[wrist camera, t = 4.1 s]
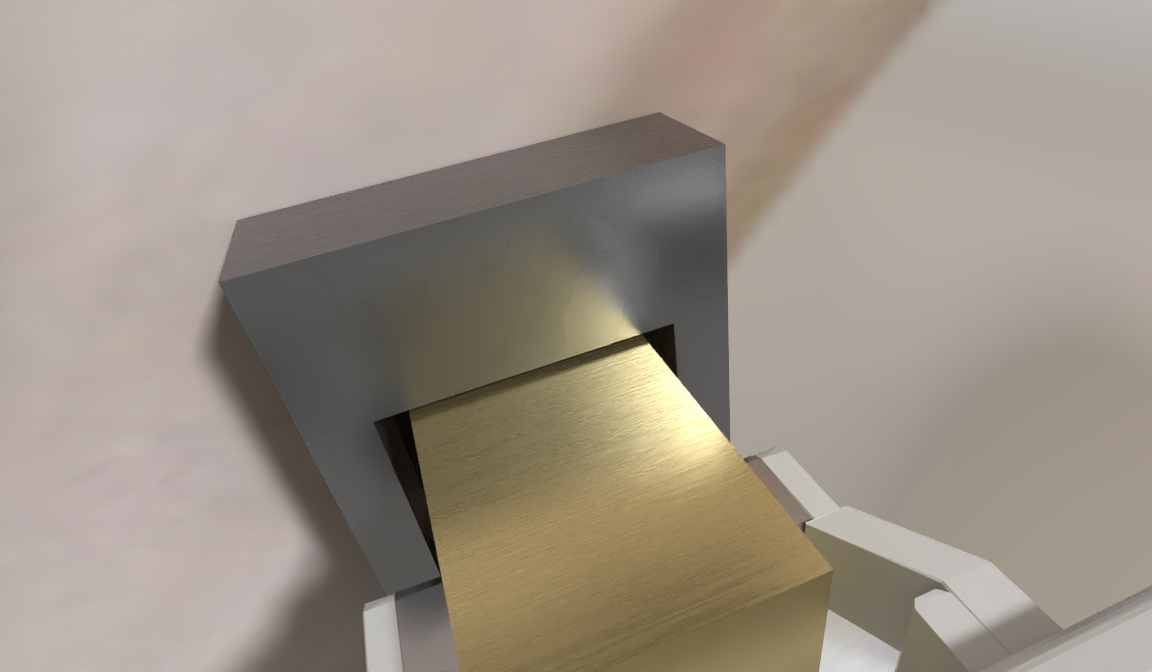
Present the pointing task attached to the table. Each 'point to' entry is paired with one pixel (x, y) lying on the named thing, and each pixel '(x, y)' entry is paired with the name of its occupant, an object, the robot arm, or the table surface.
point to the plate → (480, 299)
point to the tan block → (611, 528)
